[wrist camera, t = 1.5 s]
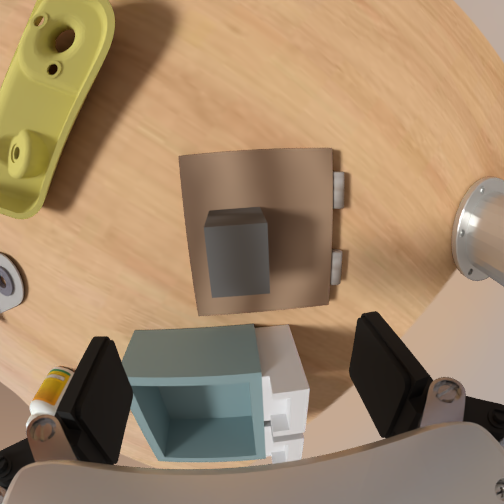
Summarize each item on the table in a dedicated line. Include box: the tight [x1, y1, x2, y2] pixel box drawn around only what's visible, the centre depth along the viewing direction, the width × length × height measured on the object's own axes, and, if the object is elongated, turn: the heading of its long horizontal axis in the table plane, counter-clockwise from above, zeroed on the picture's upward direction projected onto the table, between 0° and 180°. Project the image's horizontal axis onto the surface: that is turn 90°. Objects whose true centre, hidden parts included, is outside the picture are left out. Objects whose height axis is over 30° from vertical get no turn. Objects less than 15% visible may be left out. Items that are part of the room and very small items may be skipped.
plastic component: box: [0, 0, 115, 219], centre depth 18 cm, size 20×7×10 cm
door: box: [179, 148, 344, 316], centre depth 23 cm, size 13×14×6 cm
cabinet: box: [122, 324, 310, 464], centre depth 27 cm, size 15×14×9 cm
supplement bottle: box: [26, 367, 74, 427], centre depth 26 cm, size 5×5×10 cm
